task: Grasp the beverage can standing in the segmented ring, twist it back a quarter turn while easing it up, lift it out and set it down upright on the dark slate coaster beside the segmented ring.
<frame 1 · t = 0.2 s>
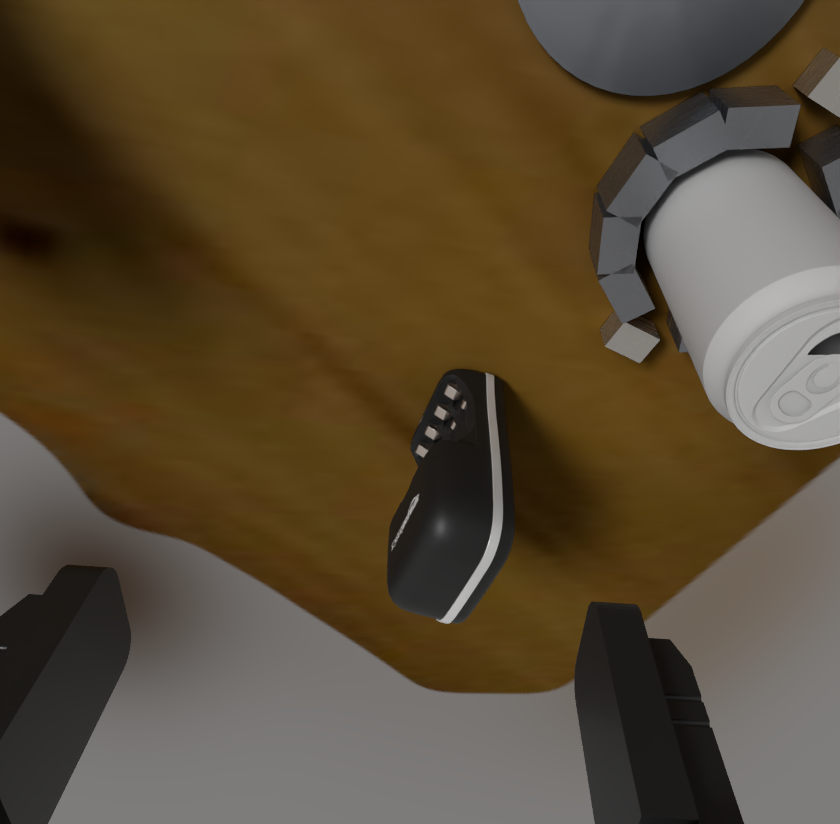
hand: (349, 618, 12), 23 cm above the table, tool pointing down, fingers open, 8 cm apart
beverage can: (714, 214, 31), resting in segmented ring
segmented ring: (715, 217, 31), on the table
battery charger: (447, 409, 38), on the table
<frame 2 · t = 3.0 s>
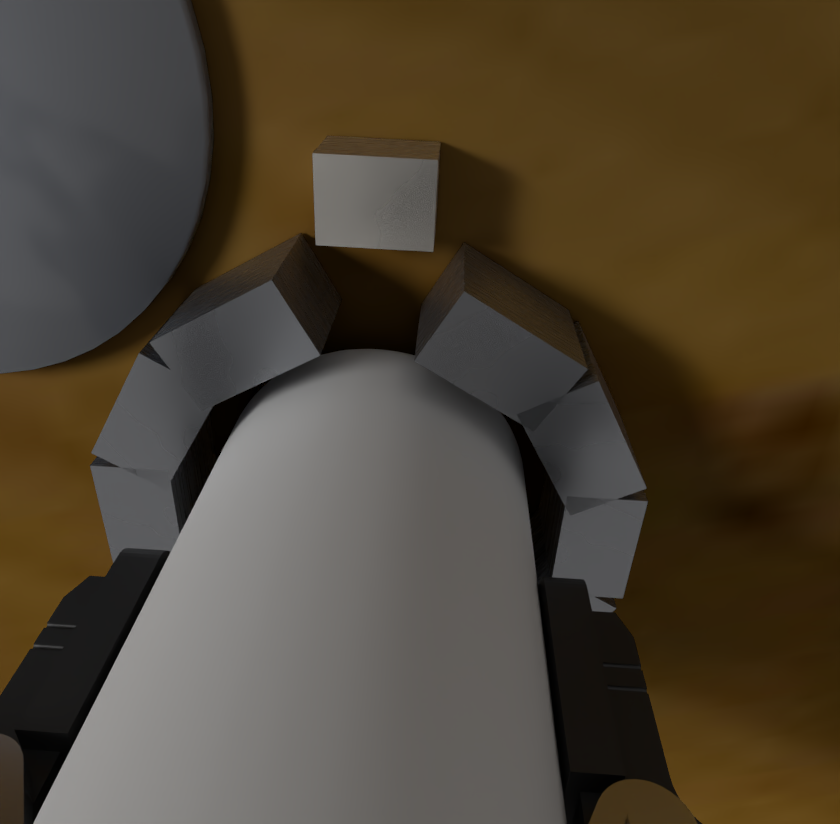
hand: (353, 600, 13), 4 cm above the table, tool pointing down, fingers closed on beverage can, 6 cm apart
beverage can: (379, 456, 16), resting in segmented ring, touching gripper
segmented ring: (379, 461, 16), on the table
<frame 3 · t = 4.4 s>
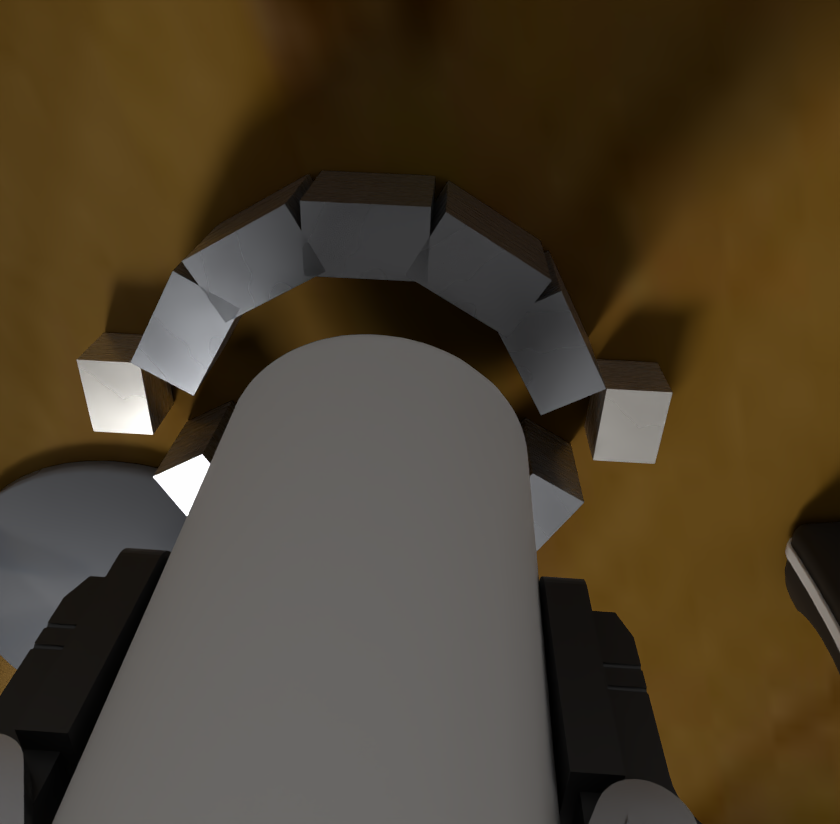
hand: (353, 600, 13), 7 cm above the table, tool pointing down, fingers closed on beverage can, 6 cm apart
beverage can: (382, 434, 16), point 3 cm above the table, touching gripper
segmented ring: (377, 382, 19), on the table
coaster: (143, 601, 23), on the table
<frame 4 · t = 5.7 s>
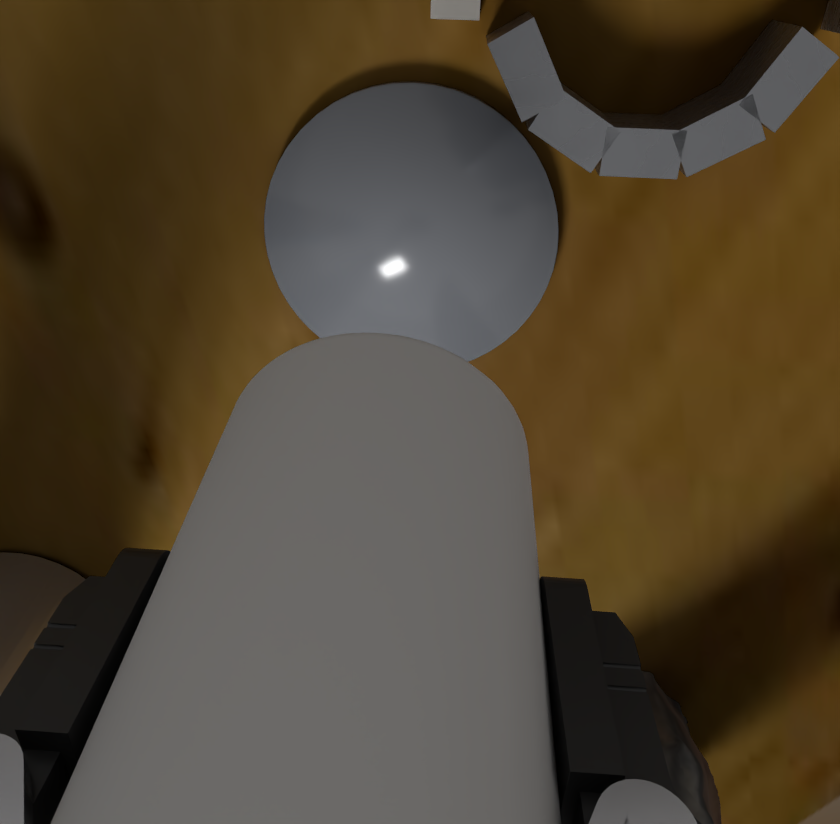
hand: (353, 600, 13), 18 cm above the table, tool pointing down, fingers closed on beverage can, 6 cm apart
beverage can: (382, 432, 16), point 13 cm above the table, touching gripper
coaster: (411, 237, 28), on the table
stone: (589, 733, 44), on the table
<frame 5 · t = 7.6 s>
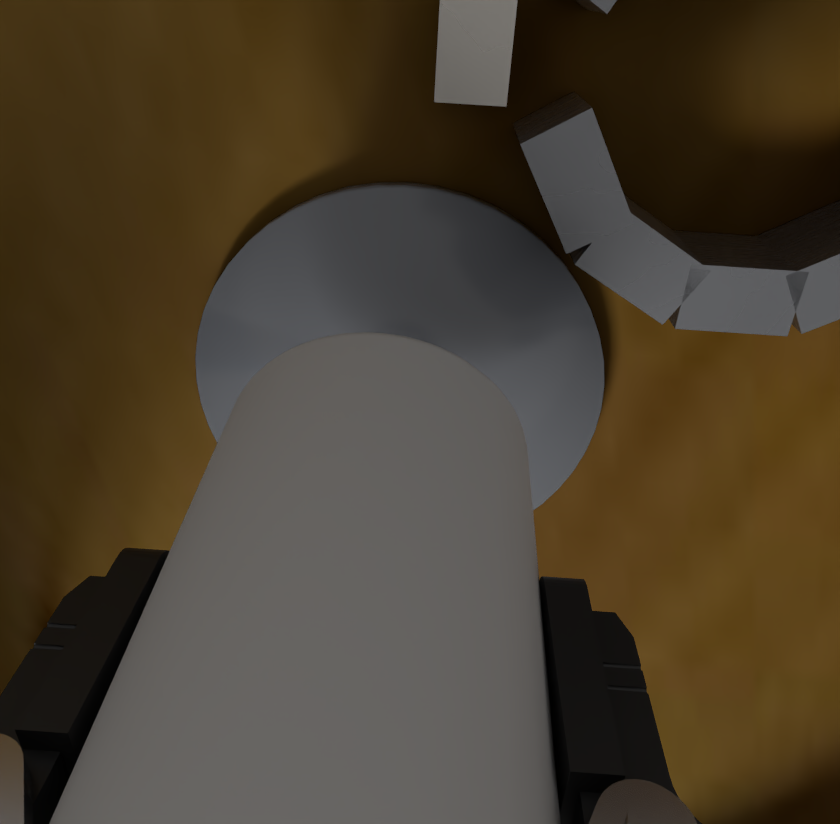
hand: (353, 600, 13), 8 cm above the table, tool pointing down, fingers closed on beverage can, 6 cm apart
beverage can: (381, 432, 16), point 4 cm above the table, touching gripper
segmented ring: (759, 62, 16), on the table
coaster: (399, 383, 20), on the table
when the fingers open (6 cm above the table, at t = 8.7 s): beverage can drops 1 cm, resting on coaster.
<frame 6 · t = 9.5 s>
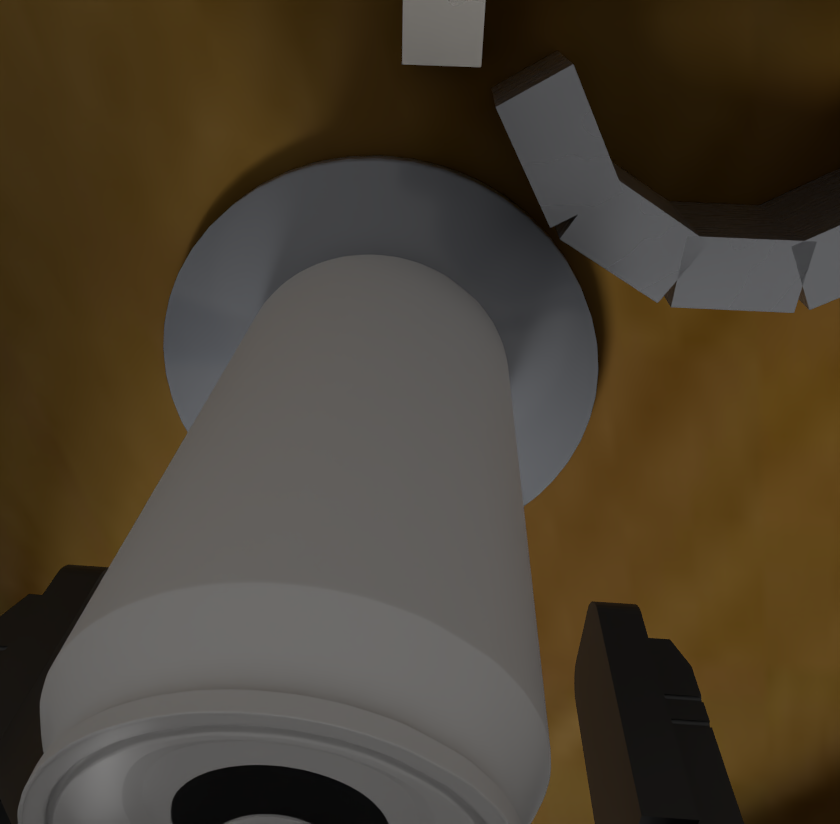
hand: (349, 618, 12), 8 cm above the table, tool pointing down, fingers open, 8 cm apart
beverage can: (379, 362, 18), resting on coaster
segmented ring: (760, 12, 14), on the table
coaster: (381, 372, 19), on the table
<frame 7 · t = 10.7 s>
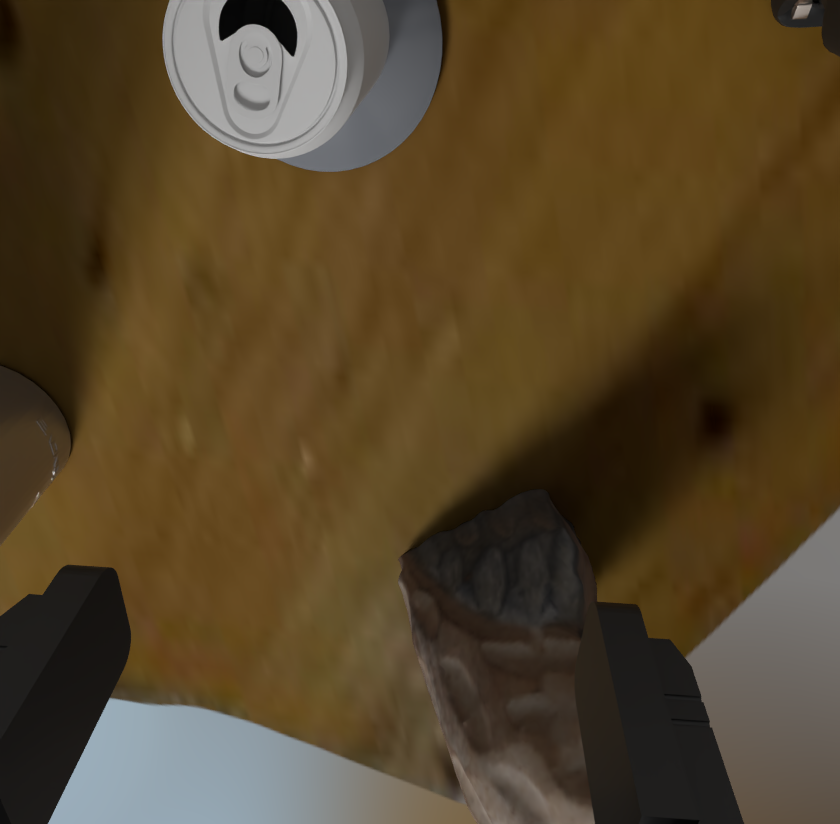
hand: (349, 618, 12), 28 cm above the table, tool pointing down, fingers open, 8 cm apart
beverage can: (320, 32, 32), resting on coaster
coaster: (321, 44, 33), on the table
stone: (496, 558, 49), on the table
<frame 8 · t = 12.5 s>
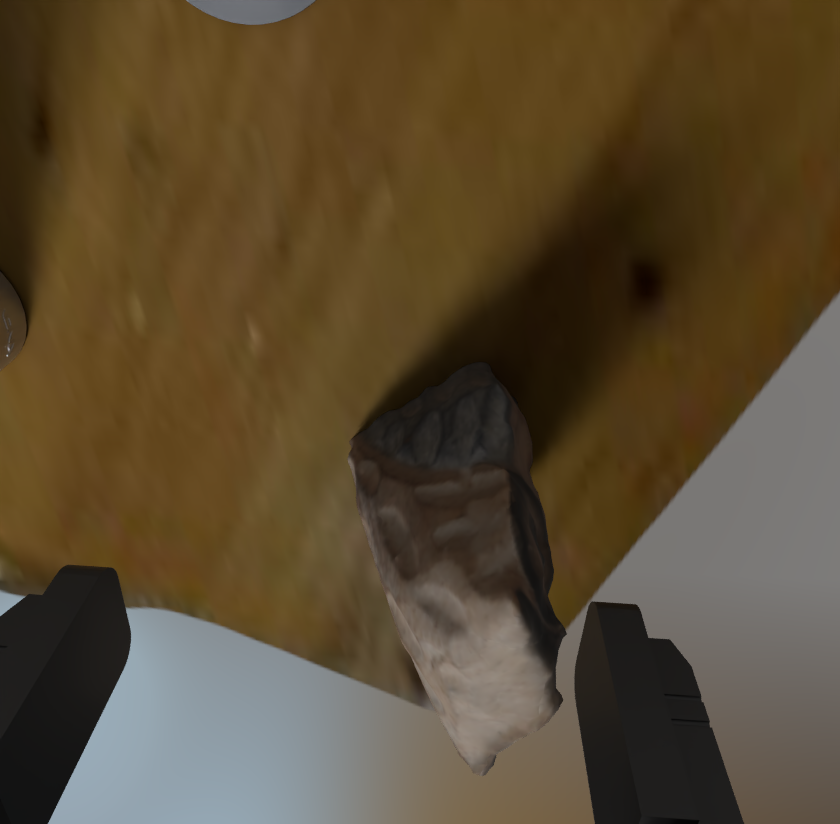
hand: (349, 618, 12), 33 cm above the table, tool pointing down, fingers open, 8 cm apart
stone: (444, 439, 50), on the table
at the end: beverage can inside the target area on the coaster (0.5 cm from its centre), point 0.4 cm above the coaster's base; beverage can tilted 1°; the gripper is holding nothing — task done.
